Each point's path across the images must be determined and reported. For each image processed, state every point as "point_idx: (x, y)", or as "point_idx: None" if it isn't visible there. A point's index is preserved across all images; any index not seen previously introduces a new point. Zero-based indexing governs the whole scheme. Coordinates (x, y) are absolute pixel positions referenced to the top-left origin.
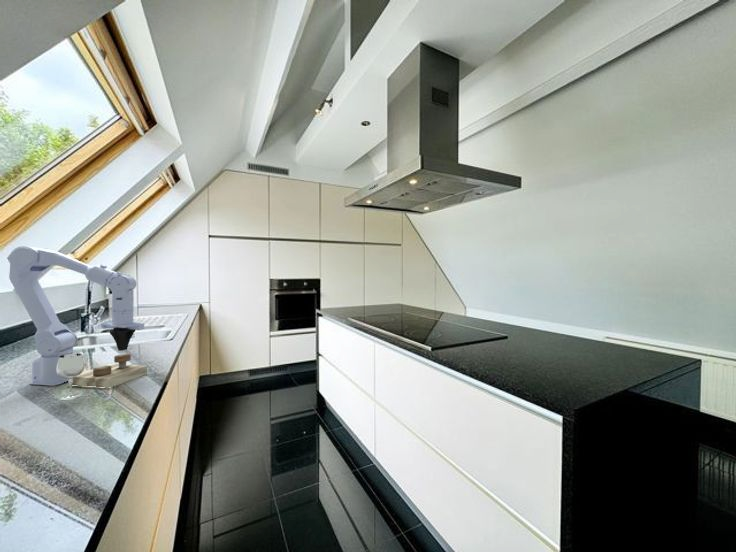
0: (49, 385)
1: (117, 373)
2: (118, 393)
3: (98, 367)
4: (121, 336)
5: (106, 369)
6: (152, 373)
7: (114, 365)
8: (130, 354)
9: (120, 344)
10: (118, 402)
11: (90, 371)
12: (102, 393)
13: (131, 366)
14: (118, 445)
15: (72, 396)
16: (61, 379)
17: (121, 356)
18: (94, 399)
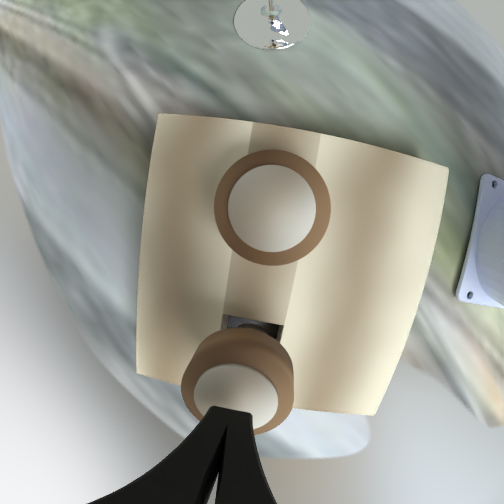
0: (499, 180)
1: (184, 223)
2: (97, 82)
3: (290, 190)
4: (112, 501)
5: (220, 184)
6: None
7: (334, 386)
8: (196, 416)
9: (196, 444)
10: (57, 25)
11: (400, 269)
12: (162, 70)
13: None
14: None
15: (255, 10)
16: (491, 217)
17: (215, 365)
18: (148, 17)
